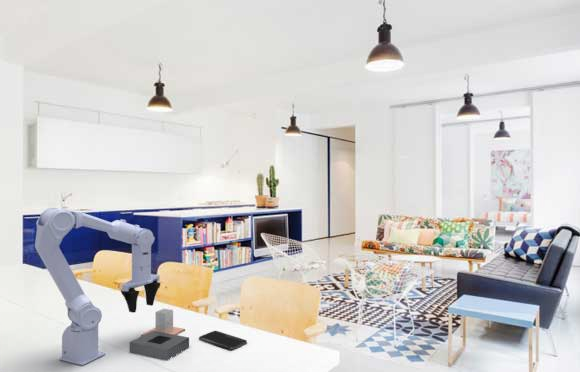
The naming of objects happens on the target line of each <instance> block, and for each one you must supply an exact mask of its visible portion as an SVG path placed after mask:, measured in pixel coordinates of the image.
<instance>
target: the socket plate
mask: <svg viewBox="0 0 580 372" xmlns="http://www.w3.org/2000/svg"><path fill="white" fill-rule="evenodd" d="M188 347H189V348H190V337H189V336H183V335H179V334H177V335H173V334H168V333H162V332H157V331H152V332H150V333H148V334H145V335H143V336H141V335H140V336H139V337H138V338H135V339H133V340H131V341H130V342H129V353H131V354H135V355H140V356H143V357H144V356H145V357H150V358H154V359H159V360H163V359H164V360H163V361H169V360H171V359H172V358H173V356H174V357H176V356H177V355H179V354H180V353H182V352H184V351H185V350H187V349H189V348H188ZM186 348H187V349H186ZM183 350H184V351H183ZM181 351H182V352H181ZM178 353H179V354H178ZM176 354H177V355H176ZM171 357H172V358H171ZM170 358H171V359H170ZM168 359H169V360H168Z"/></svg>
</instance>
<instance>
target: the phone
mask: <svg viewBox="0 0 580 372" xmlns="http://www.w3.org/2000/svg"><path fill="white" fill-rule="evenodd" d="M198 341H200V342H202V343H205V344H208V345H211V346H214V347H217V348H220V349H223V350H224V351H225V350H226V351H228V352H233V351H235V350H236V349H239V348H242V347H244V346H245V345H247V343H248V341H247V339H245V338H240V337H238V336H234V335H231V334H228V333H225V332H222V331H218V330H213V331H209V332H207V333H205V334H202V335H200V336H199V337H198Z"/></svg>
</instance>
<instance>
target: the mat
mask: <svg viewBox="0 0 580 372" xmlns="http://www.w3.org/2000/svg"><path fill="white" fill-rule="evenodd" d="M152 331H155V327H154V328H152V329H150V330H148V331H146V332H143V333H142V334H140V337H141V336H143V335H145V334H148V333H150V332H152ZM185 331H186V329H185V328H182V327H176V326H173V331H172V332H170V333H168V334H173V335H179V334H181V333H182V332H185Z"/></svg>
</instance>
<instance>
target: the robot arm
mask: <svg viewBox="0 0 580 372" xmlns="http://www.w3.org/2000/svg"><path fill="white" fill-rule="evenodd" d="M35 224H36V234H35V242H34V248H35V250H36V252H37V254H38V256H39V257H40V259H41V261H42V262H43V265H44V266H45V267H46V270H47V271H48V273H49V275H50V276H51V278H52V280H53V282H54V283H55V285H56V287H57V289H58V290H59V292H60V293H61V296H62V298H63V299H64V300H65V302H64V303H65V306H66V309H67V318H68V320H70V321H71V324H69V326H67V327H66V328H65V329H64V331H63V333H62V336H61V356H60V357H59V358H58V360H60V361H64V362H68V363H71V364H75V365H80V366H84V365H86V364H88V363H91V362H92V361H95V360H96V359H98V358H101V357H102V356H105V355H106V352H105V351H100V350H99V324H100V322H101V321H102V317H103V314H102V311H101V309H100V308H99V307H97V306H95V305H94V304H93V302H92V300H91V299H90V298H89V297H88V296H87V295H86V294H85V292H84V290H83V289H82V286H81V284H80V283H79V281H78V279H77V278H76V275H75V273H74V272H73V270H72V268H71V266H70V265H69V263H68V261H67V259H66V257H65V255H64V254H63V252H62V250H61V248H60V246H61V243H62V241H63V239H64V238H65V236H66V235H68V233H69V232H71V231H72V229H79V228H81V227H85V228H89V229H93V230H97V231H101V232H104V233H105V232H106V233H107V235H108V237H109V238H110V239H113V240H116V241H119V242H123V243H127V244H131V279H130V280H129V281H126V282H124V283H122V284H121V289H120V292H121V295H122V296H123V297H124V300H125V302H126V304H127V308H128V311H129V312H128V313H136V312H137V305H138V304H137V303H138V297H139V294H140V290H136V288H139V287H144V292H145V301H146V302H145V303H146V305H147V306H154V303H155V299H156V294H157V293H158V291H159V289H160V287H161V282H160V275H159V274H153V275H152V245H153V244H154V242H155V239H156V237H155V236H154V233H153V232H152V231H151V230H150V229H148V228H142V227H140V225H138V224H131V223H128V222H127V220H126V219H122V218H121V219H119V220H118V219H116V220H113V221H112V222H110V221H108V220H105V219H102V218H99V217H96V216H93V215H91V214H87V213H86V212H85V213H84V212H80V211H72V210H68V209H59V208H56V207H50V208H47V209H45V210H43V212H42V213H41V214H40V215H39V217H38V219H37V220H36V223H35Z"/></svg>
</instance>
